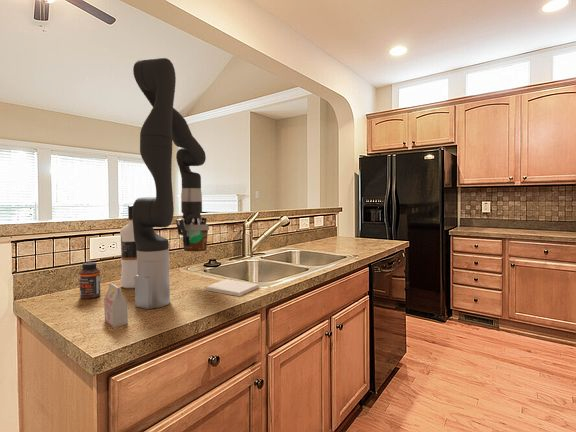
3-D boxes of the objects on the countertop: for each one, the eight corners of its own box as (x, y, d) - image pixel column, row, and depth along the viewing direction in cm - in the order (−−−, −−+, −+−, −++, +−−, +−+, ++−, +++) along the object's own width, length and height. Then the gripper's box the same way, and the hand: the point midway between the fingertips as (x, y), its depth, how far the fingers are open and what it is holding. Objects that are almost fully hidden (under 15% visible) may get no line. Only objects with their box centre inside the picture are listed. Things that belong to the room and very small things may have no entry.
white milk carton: (119, 317, 95) (118, 281, 94) (127, 323, 90) (126, 286, 89) (104, 320, 92) (103, 284, 92) (113, 327, 87) (111, 289, 87)
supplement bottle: (77, 300, 110) (75, 265, 109) (83, 294, 115) (81, 261, 114) (97, 298, 111) (96, 264, 110) (102, 293, 117) (101, 261, 116)
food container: (173, 250, 129) (173, 224, 128) (185, 248, 134) (185, 223, 134) (197, 252, 123) (197, 225, 122) (209, 250, 128) (209, 224, 128)
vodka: (147, 287, 124) (144, 205, 122) (119, 290, 121) (115, 206, 119) (148, 281, 133) (145, 204, 131) (122, 283, 130) (119, 205, 127)
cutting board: (239, 296, 114) (239, 292, 113) (205, 290, 121) (205, 286, 121) (259, 287, 124) (259, 284, 124) (226, 282, 131) (226, 279, 131)
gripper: (184, 200, 120) (185, 248, 121) (212, 200, 132) (212, 243, 133) (169, 200, 123) (170, 246, 124) (197, 200, 136) (198, 242, 137)
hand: (192, 245), depth 129 cm, fingers closed on food container, 5 cm apart
